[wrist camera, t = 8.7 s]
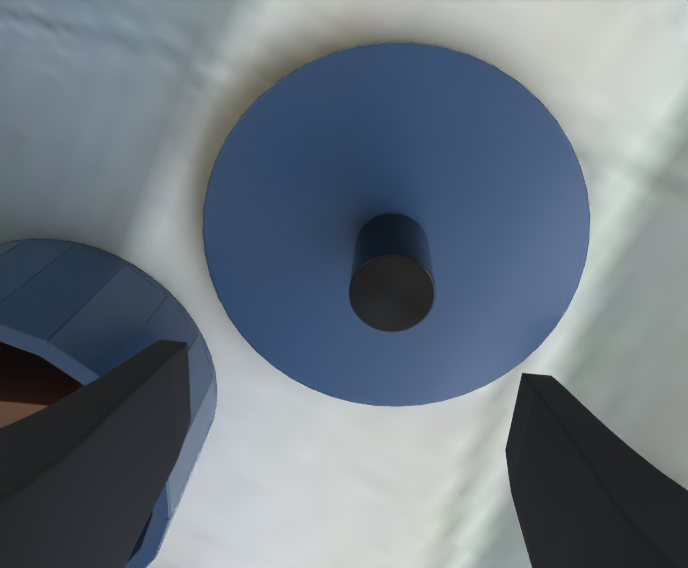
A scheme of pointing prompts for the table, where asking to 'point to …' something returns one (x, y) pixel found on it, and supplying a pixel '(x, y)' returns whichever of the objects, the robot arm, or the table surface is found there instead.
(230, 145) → the lid
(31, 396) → the block
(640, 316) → the table surface
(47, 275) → the bowl
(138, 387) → the robot arm
